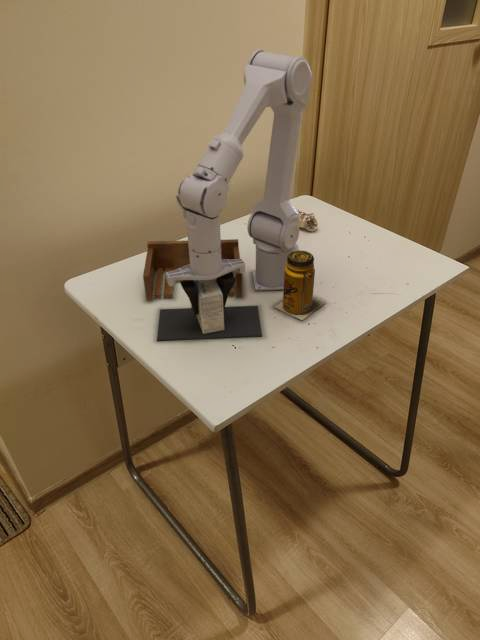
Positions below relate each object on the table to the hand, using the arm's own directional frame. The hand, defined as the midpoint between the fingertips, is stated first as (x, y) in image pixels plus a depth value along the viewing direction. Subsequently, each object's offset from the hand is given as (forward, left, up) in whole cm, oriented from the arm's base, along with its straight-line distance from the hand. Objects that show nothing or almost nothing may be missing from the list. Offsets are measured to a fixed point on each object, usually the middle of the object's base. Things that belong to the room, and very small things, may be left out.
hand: (208, 309), depth 97 cm
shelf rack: (+3, -15, -3) cm, 16 cm away
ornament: (-26, -42, -4) cm, 50 cm away
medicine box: (0, 0, -3) cm, 3 cm away
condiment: (-19, -5, -4) cm, 20 cm away
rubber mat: (0, 0, -3) cm, 3 cm away
